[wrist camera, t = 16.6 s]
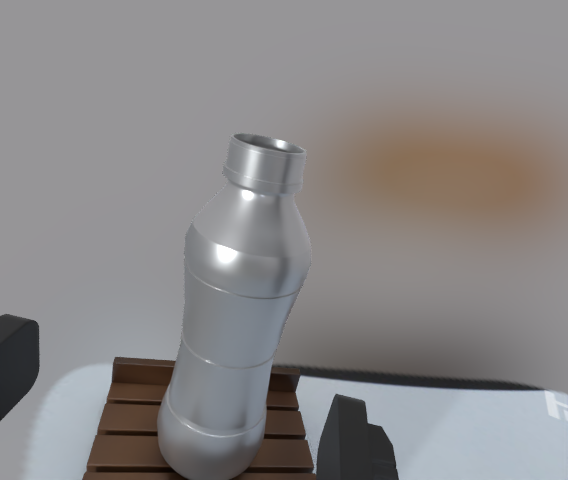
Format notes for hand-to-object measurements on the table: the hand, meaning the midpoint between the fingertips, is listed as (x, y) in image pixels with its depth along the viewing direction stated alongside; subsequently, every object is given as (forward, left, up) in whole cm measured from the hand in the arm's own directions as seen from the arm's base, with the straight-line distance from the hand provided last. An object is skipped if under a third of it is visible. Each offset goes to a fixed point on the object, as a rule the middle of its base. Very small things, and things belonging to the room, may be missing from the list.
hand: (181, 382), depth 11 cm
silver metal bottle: (+6, -9, -15) cm, 19 cm away
